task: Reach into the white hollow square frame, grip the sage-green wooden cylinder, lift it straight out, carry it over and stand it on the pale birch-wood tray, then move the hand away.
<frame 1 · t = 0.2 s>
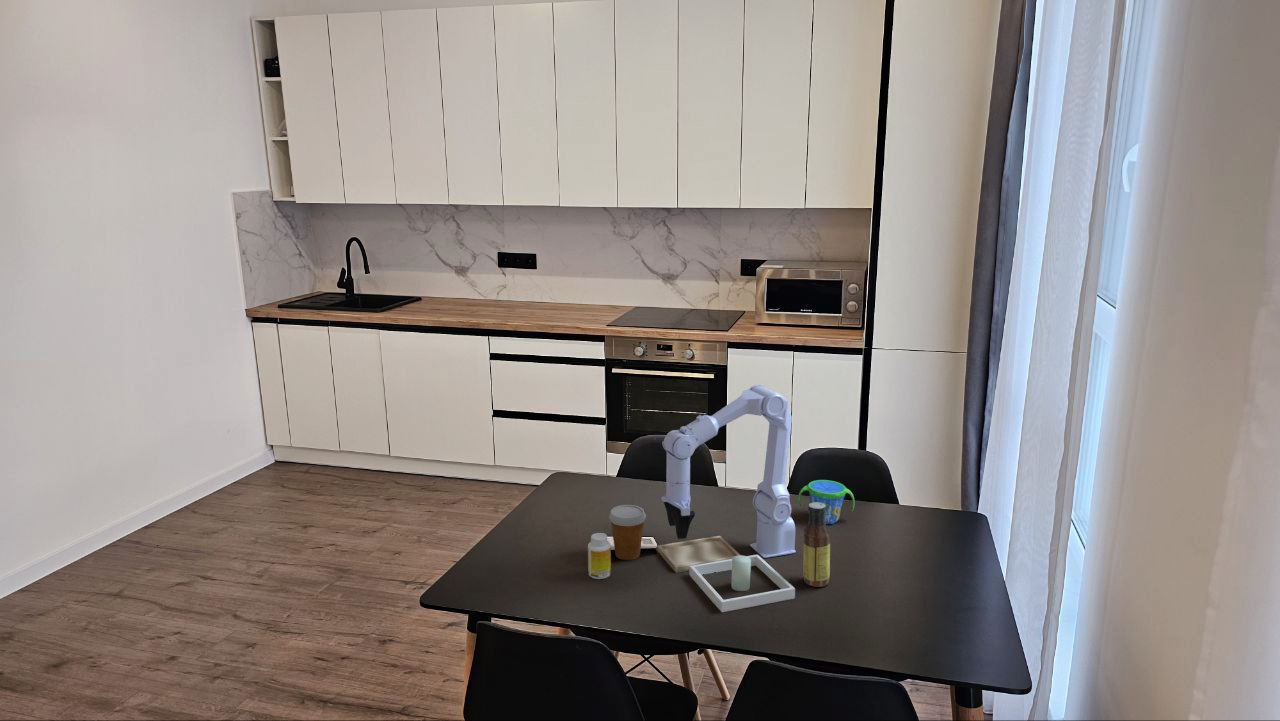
hand: (677, 531, 205), 10 cm above the table, tool pointing down, fingers open, 7 cm apart
supplement bottle: (599, 575, 204), on the table
sauce bottle: (815, 582, 201), on the table
birch tray: (698, 556, 214), on the table
disposable coffee cup: (627, 555, 215), on the table
sage cylinder: (741, 573, 198), in the white hollow square frame
white hollow square frame: (740, 586, 198), on the table
snack cup: (825, 520, 236), on the table
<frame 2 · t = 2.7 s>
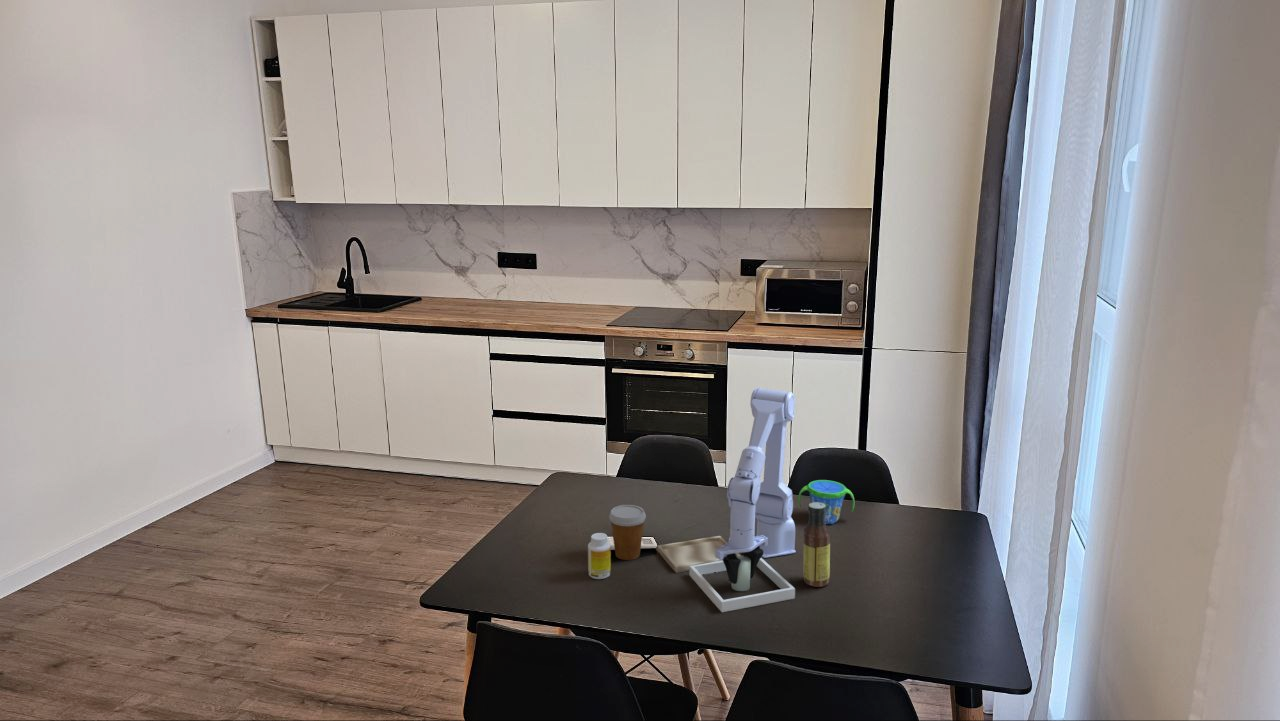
hand: (740, 579, 198), 2 cm above the table, tool pointing down, fingers closed on sage cylinder, 4 cm apart
sage cylinder: (741, 573, 198), in the white hollow square frame, touching gripper
everything else where it was.
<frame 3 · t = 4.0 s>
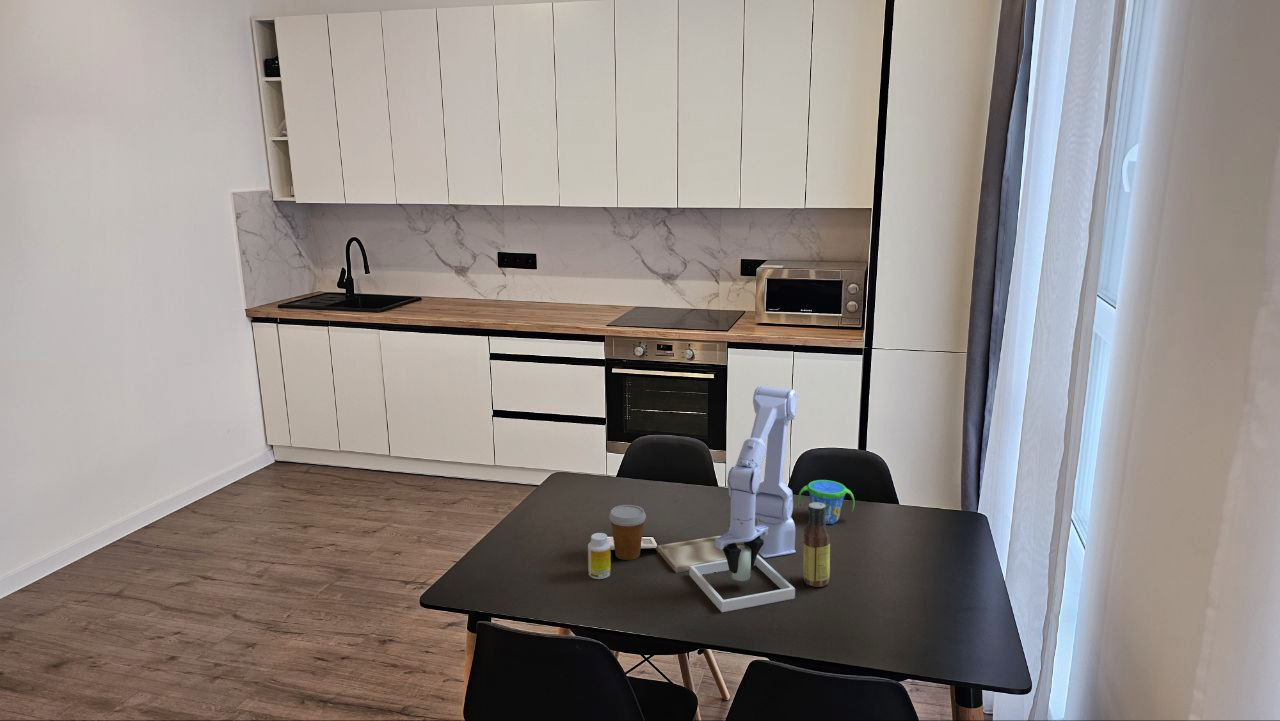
hand: (741, 569, 197), 5 cm above the table, tool pointing down, fingers closed on sage cylinder, 4 cm apart
sage cylinder: (741, 563, 197), point 6 cm above the table, touching gripper
everything else where it was.
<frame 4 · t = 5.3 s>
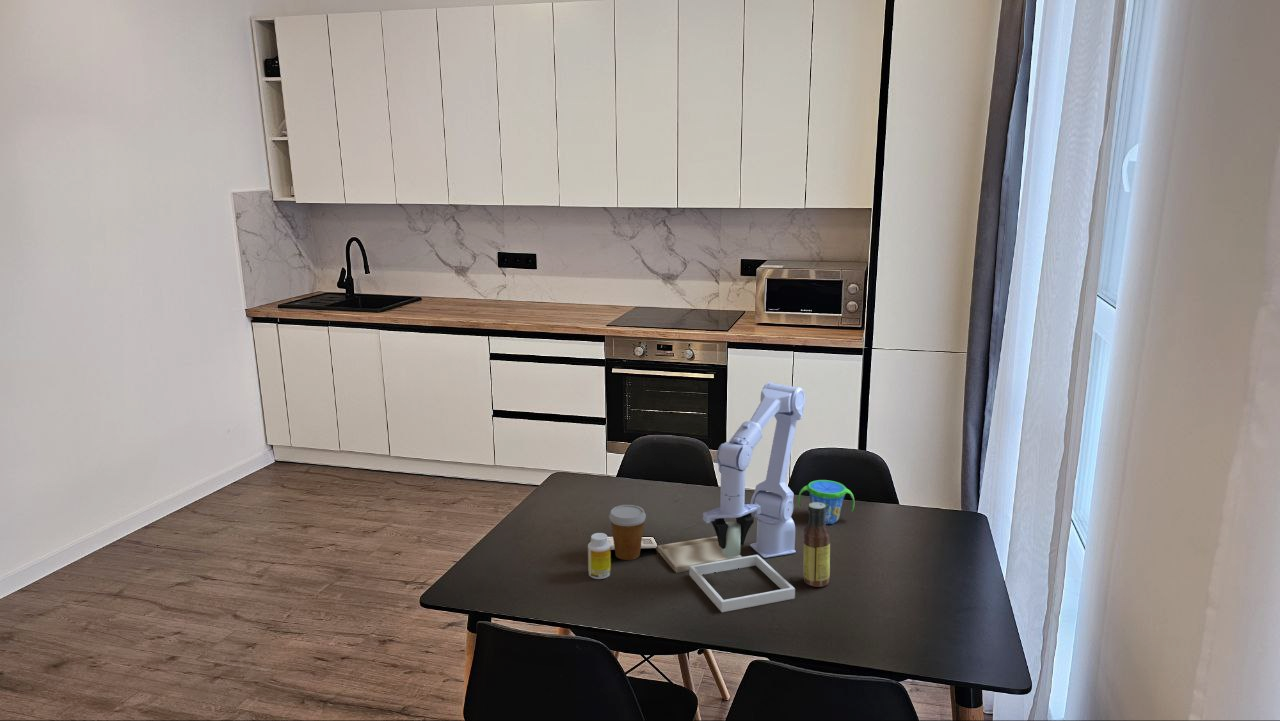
hand: (731, 545, 200), 9 cm above the table, tool pointing down, fingers closed on sage cylinder, 4 cm apart
sage cylinder: (731, 539, 200), point 10 cm above the table, touching gripper
everything else where it was.
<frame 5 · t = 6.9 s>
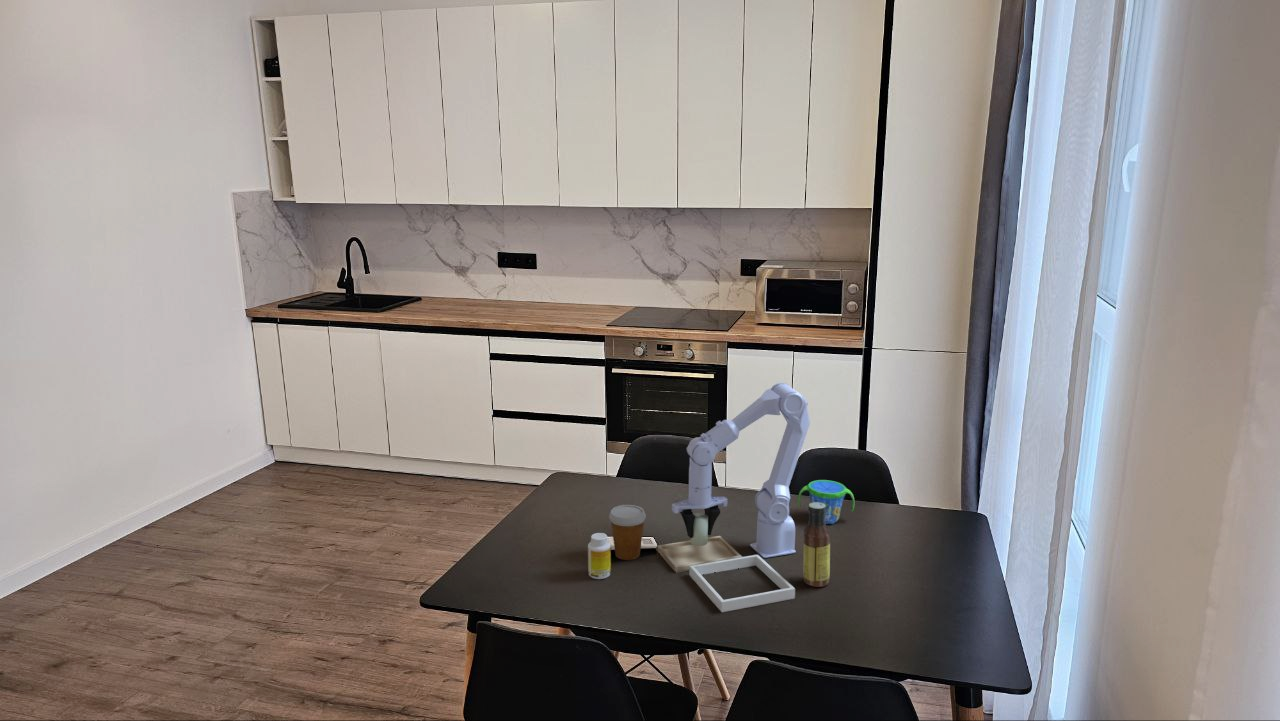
hand: (699, 535, 213), 6 cm above the table, tool pointing down, fingers closed on sage cylinder, 4 cm apart
sage cylinder: (699, 529, 212), point 8 cm above the table, touching gripper
everything else where it was.
when the fingers open (4 cm above the table, at t = 8.1 s): sage cylinder drops 1 cm, resting on birch tray.
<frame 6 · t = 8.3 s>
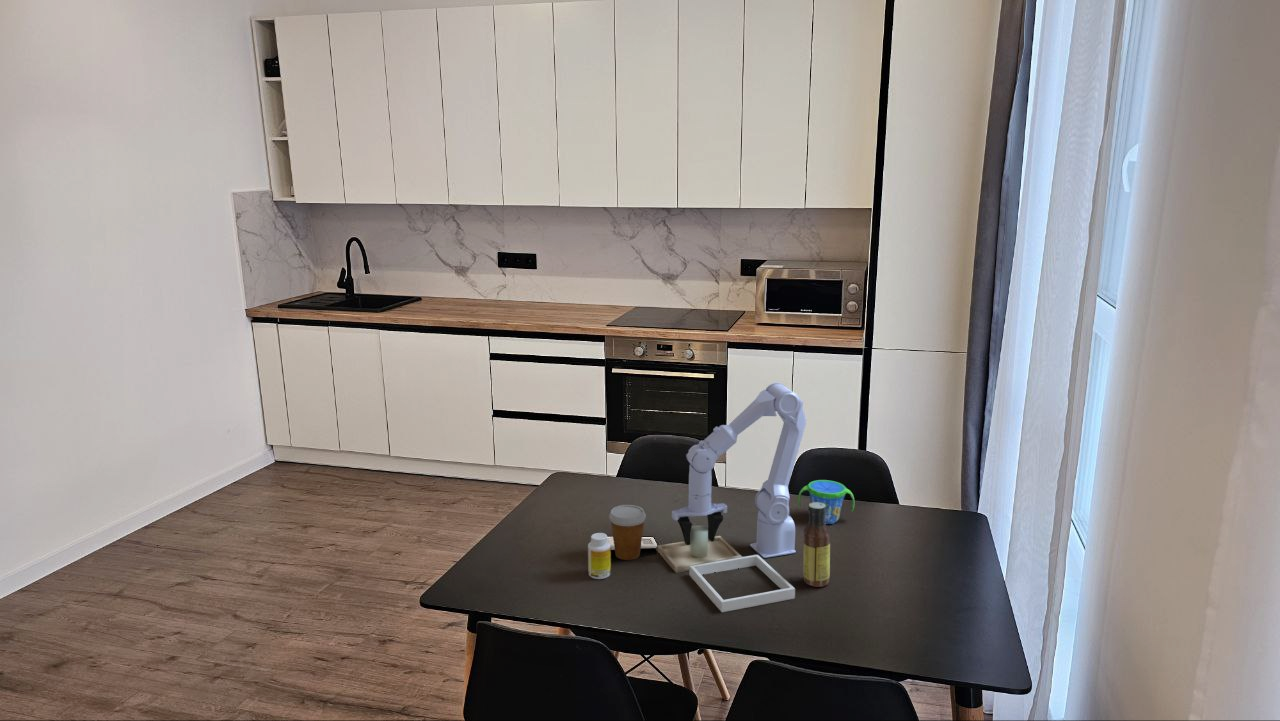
hand: (699, 541, 213), 4 cm above the table, tool pointing down, fingers open, 6 cm apart
sage cylinder: (699, 541, 213), point 4 cm above the table, touching birch tray
everything else where it was.
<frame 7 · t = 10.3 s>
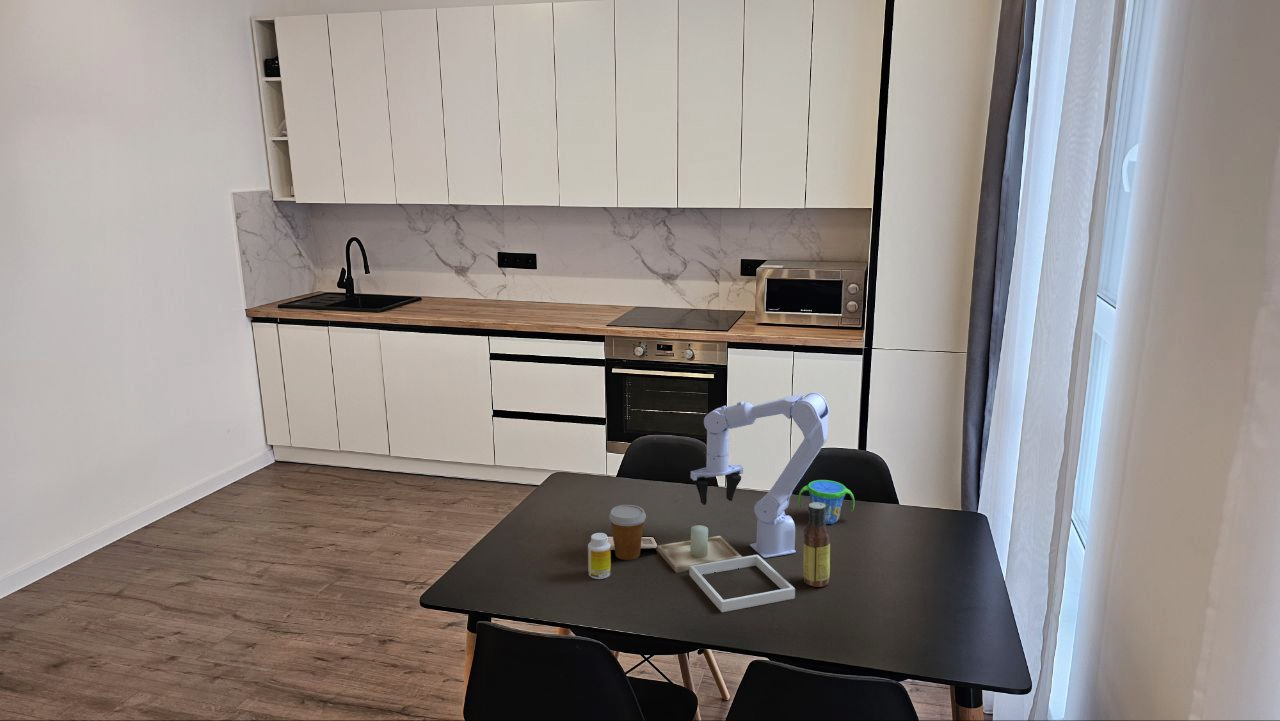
hand: (716, 501, 222), 10 cm above the table, tool pointing down, fingers open, 7 cm apart
nothing on the table moved.
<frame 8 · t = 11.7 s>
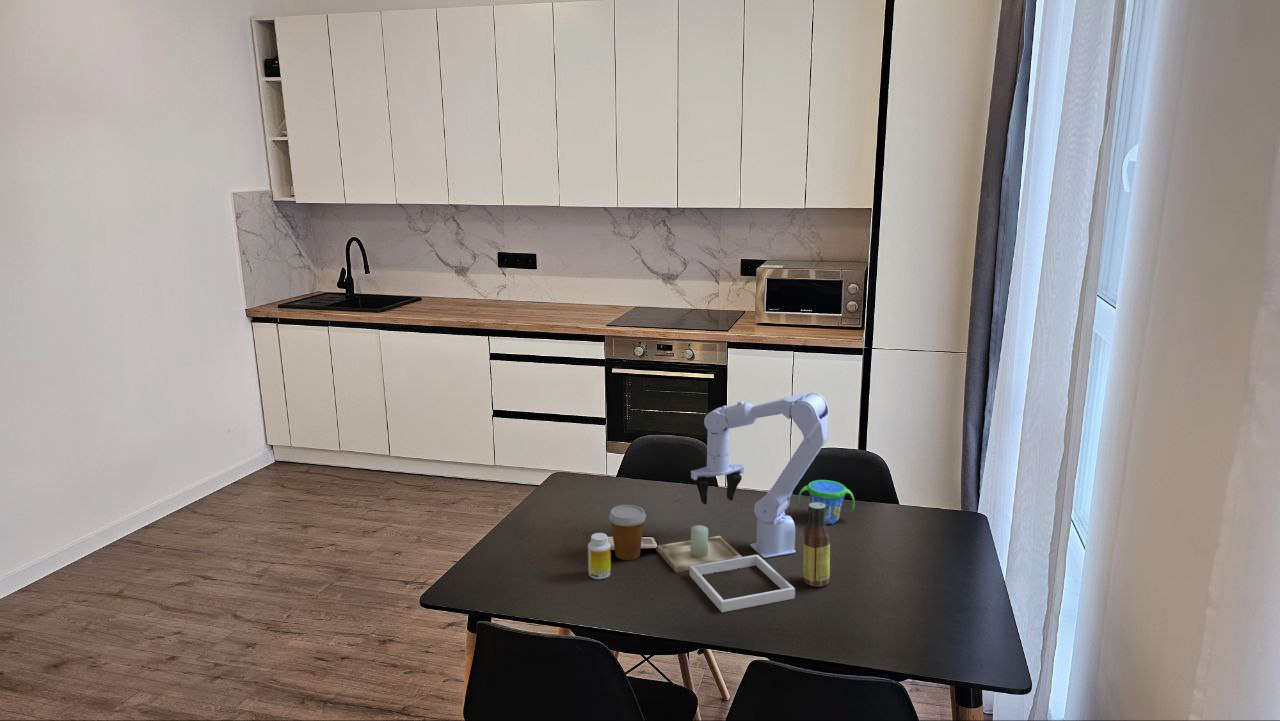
hand: (716, 501, 223), 10 cm above the table, tool pointing down, fingers open, 7 cm apart
nothing on the table moved.
at the end: sage cylinder inside the target area on the birch tray (0.0 cm from its centre), point 4.1 cm above the birch tray's base; sage cylinder tilted 0°; the gripper is holding nothing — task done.
